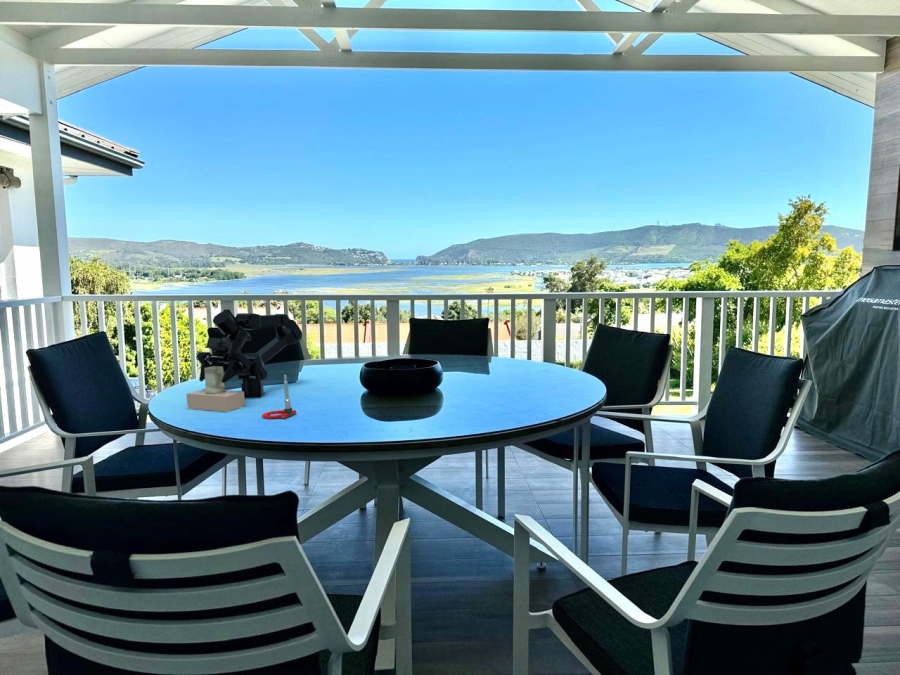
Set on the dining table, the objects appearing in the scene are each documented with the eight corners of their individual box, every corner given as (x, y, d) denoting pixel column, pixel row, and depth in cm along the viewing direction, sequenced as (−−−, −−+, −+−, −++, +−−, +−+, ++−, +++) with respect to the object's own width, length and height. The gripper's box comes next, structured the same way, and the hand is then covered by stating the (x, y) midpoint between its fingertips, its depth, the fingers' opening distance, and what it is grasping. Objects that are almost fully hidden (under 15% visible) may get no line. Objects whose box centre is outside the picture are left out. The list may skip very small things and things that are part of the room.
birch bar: (216, 403, 192) (213, 366, 191) (225, 404, 191) (223, 366, 190) (206, 406, 189) (204, 368, 187) (216, 406, 187) (214, 368, 186)
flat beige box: (207, 403, 197) (206, 388, 196) (244, 406, 191) (243, 391, 190) (187, 408, 189) (186, 393, 188) (226, 412, 183) (225, 396, 183)
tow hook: (256, 420, 175) (283, 420, 172) (252, 377, 173) (279, 377, 171) (272, 413, 183) (298, 413, 180) (268, 373, 181) (294, 372, 179)
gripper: (198, 327, 194) (174, 365, 185) (242, 328, 187) (219, 368, 178) (217, 348, 202) (194, 385, 193) (260, 349, 195) (239, 388, 186)
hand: (211, 381), depth 188 cm, fingers open, 9 cm apart
